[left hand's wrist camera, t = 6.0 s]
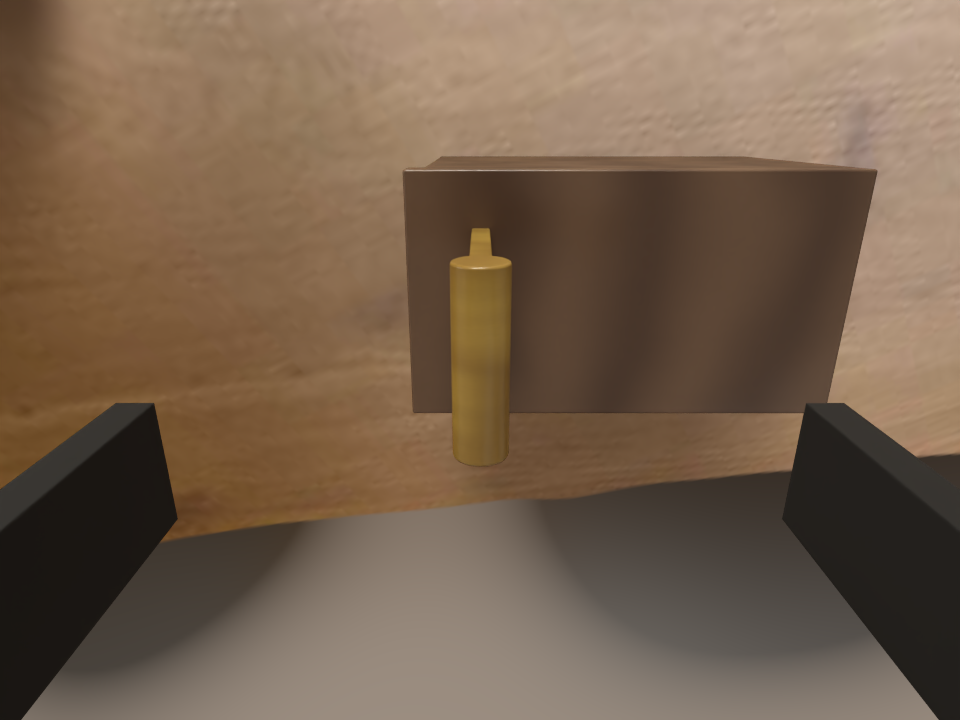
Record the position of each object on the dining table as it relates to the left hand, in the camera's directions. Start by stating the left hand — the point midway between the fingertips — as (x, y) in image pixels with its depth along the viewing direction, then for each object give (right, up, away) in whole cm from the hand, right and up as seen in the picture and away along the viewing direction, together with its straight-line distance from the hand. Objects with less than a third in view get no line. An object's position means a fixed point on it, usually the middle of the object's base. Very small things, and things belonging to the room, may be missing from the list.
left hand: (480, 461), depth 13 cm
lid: (+6, +5, +13) cm, 15 cm away
